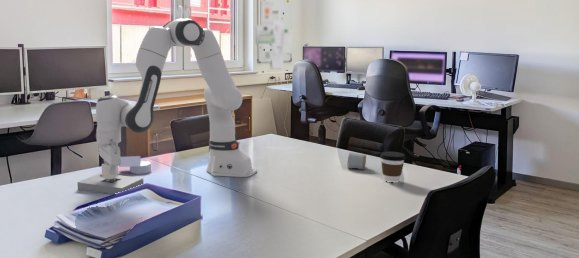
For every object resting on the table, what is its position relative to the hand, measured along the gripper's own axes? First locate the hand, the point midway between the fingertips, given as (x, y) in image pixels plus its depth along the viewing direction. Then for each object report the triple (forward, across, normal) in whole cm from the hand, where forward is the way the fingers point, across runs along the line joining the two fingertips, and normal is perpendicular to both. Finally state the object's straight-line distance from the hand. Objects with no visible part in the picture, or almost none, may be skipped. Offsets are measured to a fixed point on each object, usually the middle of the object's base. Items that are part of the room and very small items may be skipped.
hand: (110, 172), depth 195 cm
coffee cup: (+6, -47, -106) cm, 116 cm away
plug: (+3, 0, 0) cm, 3 cm away
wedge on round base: (+6, +19, -15) cm, 25 cm away
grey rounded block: (+6, -23, -107) cm, 110 cm away
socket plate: (+6, 0, 0) cm, 6 cm away
